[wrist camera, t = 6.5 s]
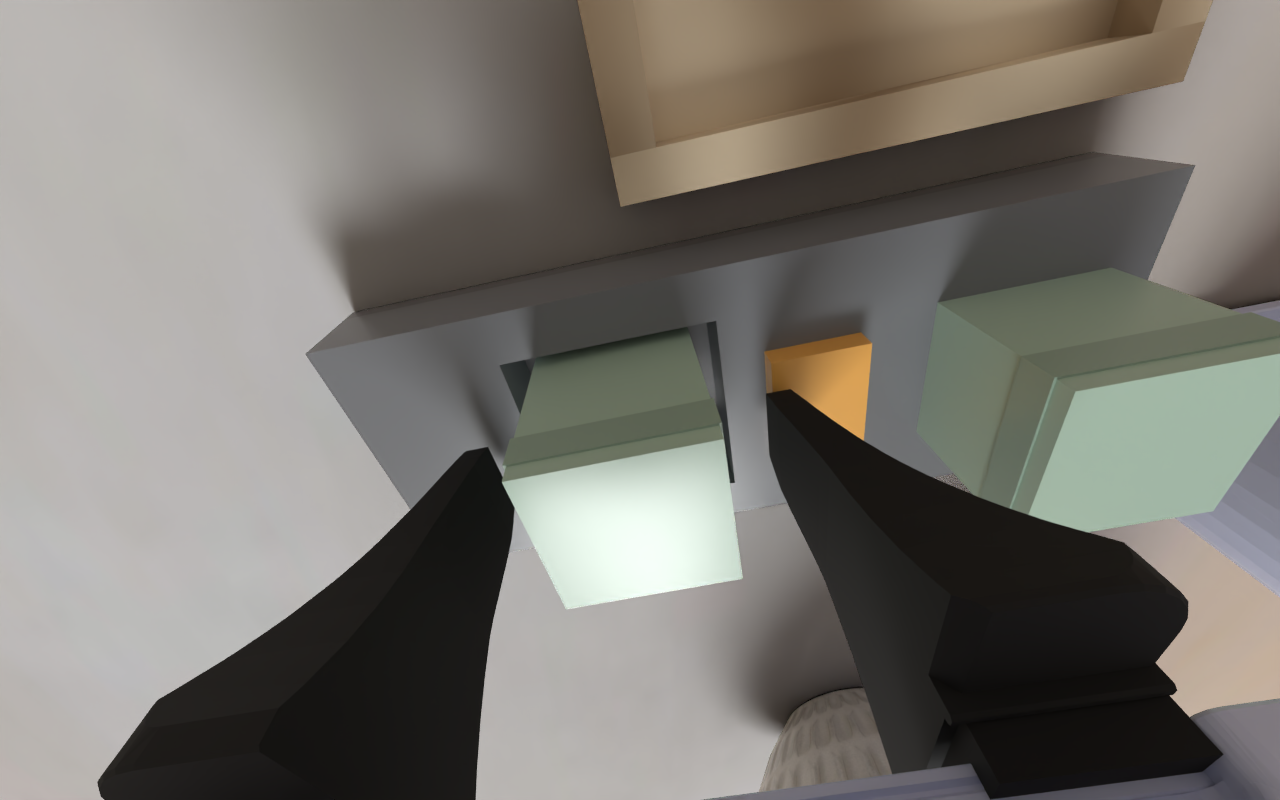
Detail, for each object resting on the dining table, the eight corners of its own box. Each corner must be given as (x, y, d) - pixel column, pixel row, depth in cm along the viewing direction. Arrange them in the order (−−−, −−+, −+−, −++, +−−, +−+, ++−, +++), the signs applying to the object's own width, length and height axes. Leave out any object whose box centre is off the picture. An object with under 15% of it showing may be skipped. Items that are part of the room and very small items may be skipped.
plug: (681, 303, 13) (726, 436, 8) (700, 419, 15) (745, 579, 10) (540, 334, 13) (498, 480, 8) (579, 443, 16) (564, 610, 11)
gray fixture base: (1093, 152, 12) (1495, 203, 7) (1016, 405, 16) (1217, 562, 11) (353, 312, 13) (175, 466, 8) (466, 507, 18) (402, 693, 12)
